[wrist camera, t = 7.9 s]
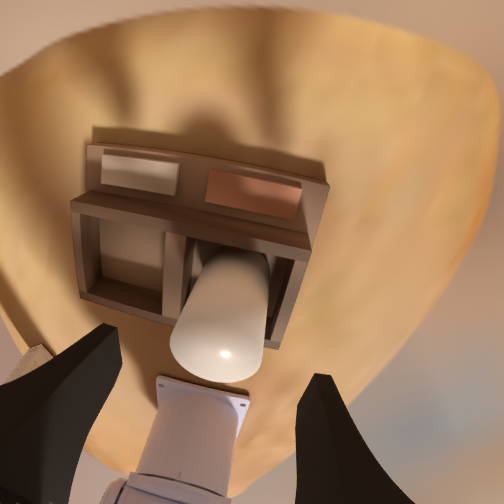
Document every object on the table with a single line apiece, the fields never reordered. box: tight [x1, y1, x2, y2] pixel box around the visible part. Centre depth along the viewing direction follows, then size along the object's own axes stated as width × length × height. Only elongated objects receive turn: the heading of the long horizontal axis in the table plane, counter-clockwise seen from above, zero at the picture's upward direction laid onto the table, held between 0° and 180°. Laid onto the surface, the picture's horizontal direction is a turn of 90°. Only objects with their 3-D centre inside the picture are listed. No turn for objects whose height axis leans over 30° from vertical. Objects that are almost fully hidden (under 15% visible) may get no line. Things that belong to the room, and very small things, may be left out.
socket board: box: [71, 142, 330, 350], centre depth 15 cm, size 9×13×3 cm
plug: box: [170, 245, 270, 383], centre depth 13 cm, size 4×4×6 cm
